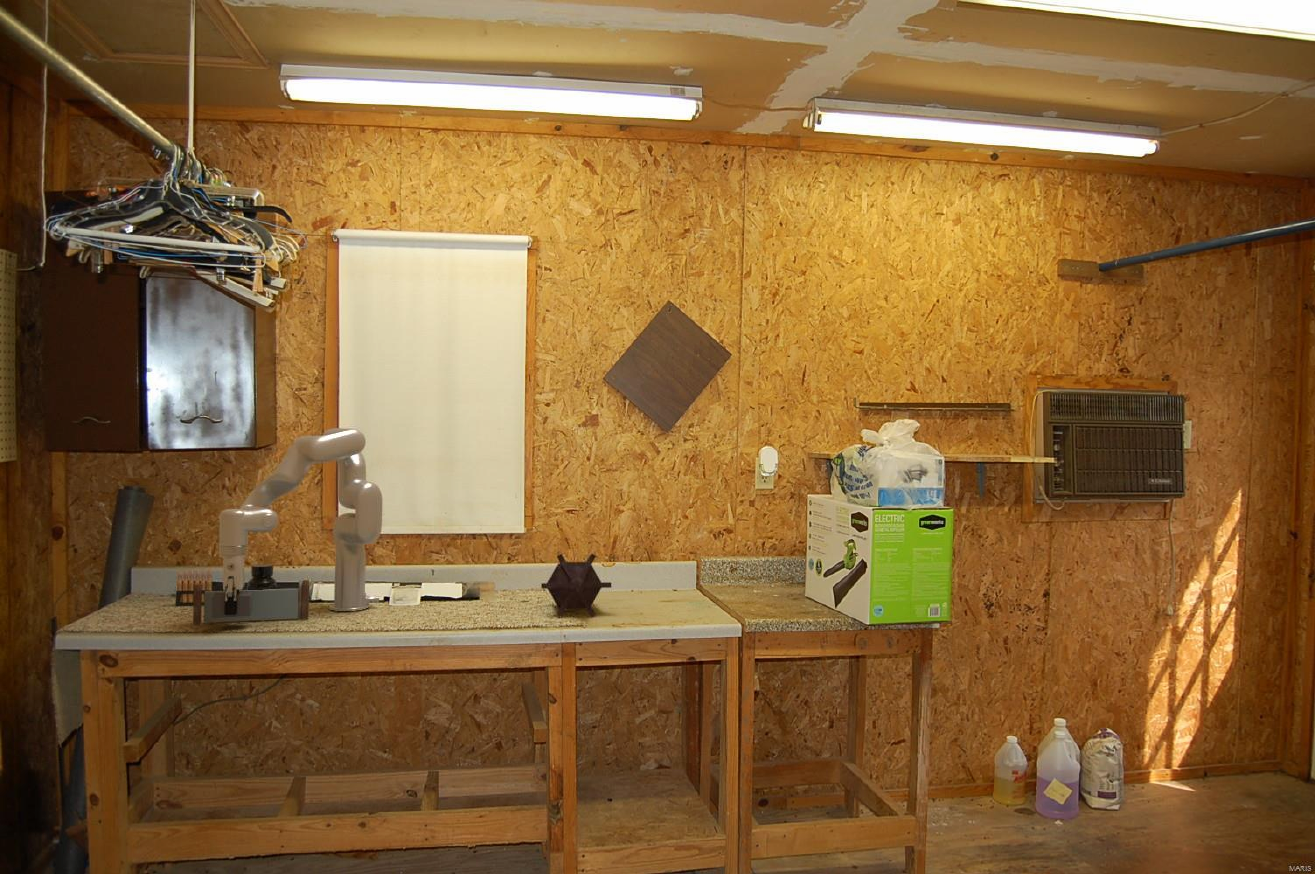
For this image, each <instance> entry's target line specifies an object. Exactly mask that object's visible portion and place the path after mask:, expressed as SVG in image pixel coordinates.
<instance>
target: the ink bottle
mask: <svg viewBox="0 0 1315 874" xmlns="http://www.w3.org/2000/svg"><path fill="white" fill-rule="evenodd" d="M250 570H251V571H250V575H251V578H250V579H249V580H248V581H247V587H248V586H249V587H253V588H260V587H271V586H274V585H276V586H277V581H276V579H275V578H274V577H273V575H274V564H272V563H260V564H256V563H255V564H252V565H251V569H250Z"/></svg>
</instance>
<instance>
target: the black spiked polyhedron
mask: <svg viewBox="0 0 1315 874" xmlns="http://www.w3.org/2000/svg"><path fill="white" fill-rule="evenodd" d="M556 558H557V560H558V562H559V563H558V564H557V565H556V566H555V568H554V570H553V572H552V574H551V575H550V577H549V578H548V580H547V582H545V583H544V582H543V583H541V584H540V585H541V587H540V588H541V589H543V590H545V589H547V590H548V592H549V594H550V596H551V597H552V599H553V601H554V603H555V604H556V606H557V607H558V606H561V607H559V609H558V610H557V613H556V617H558V616H562V617H563V616H564V613H565V612H566V610H586V612H587V613H588V614H589V616H590V617H591V618H594V617H595V616H596V615H597V613H596V612H595V610H594V608H593V606H592V605H594V604H593V603H594V602H595V600H596V598H597V597H598V595H599V593H600V591H601V590H602V589H603V588H605V589H606V588H608V589H609V588H612V582H611V581H610V582H609V581H607V582H603V581H602V582H601V579H600V577H599V576H598V574H597V572H596V571H595V569H594V567H593V565H592V564H593V562H594V561H595V559H596V558H597V555H596V554H593V553H591V554H590V555H589V556H588V558H587V560H586V561H566V559H565V558H564V556H563V554H562V553H561V554H559V555H557V556H556Z"/></svg>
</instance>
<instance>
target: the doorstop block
mask: <svg viewBox="0 0 1315 874" xmlns="http://www.w3.org/2000/svg"><path fill="white" fill-rule="evenodd" d="M225 598H226V593H215V594H214V595H213V597H212V618H222V617H243V616H250V615H251V613H252V592H241V593H237V595H236V600H237V614H236V615H225V614H224V613H225Z"/></svg>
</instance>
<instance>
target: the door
mask: <svg viewBox="0 0 1315 874" xmlns="http://www.w3.org/2000/svg"><path fill="white" fill-rule="evenodd" d="M241 592H252V613H251V615H250V616H243V617H222V618H212V597H213V595H214V594H215V593H226V591H224V590H212V591H205V592H204V606H203V623H218V622H240V621H241V622H242V621H243V622H244V621H260V620H261V621H264V620H265V621H267V620H287V619H289V620H290V619H298V610H299V587H298V588H276V589H263V590H248V589H242V590H241V591H239V593H241Z"/></svg>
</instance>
